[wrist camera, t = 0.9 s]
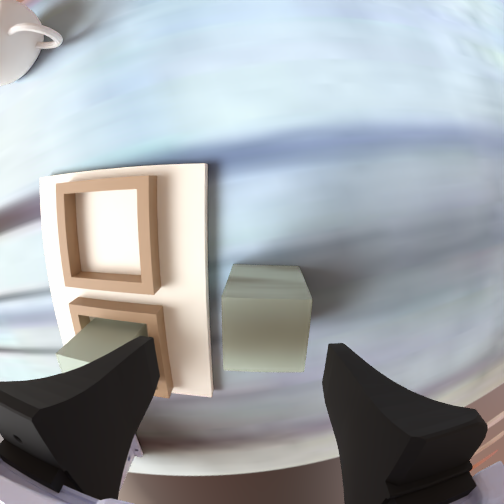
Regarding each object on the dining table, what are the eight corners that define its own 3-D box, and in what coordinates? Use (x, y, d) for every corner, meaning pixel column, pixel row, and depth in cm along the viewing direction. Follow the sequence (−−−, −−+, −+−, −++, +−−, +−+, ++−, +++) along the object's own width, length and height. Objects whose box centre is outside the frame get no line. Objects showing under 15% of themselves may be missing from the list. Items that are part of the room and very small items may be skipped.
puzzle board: (213, 389, 23) (199, 451, 16) (76, 367, 23) (40, 408, 16) (207, 164, 19) (178, 155, 12) (47, 177, 19) (-14, 182, 12)
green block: (294, 324, 21) (303, 372, 15) (233, 322, 21) (223, 370, 15) (298, 265, 20) (312, 299, 14) (233, 264, 20) (221, 297, 14)
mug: (-9, 95, 17) (-60, 87, 9) (18, 26, 15) (-26, 7, 7) (60, 90, 17) (-3, 69, 10) (95, 8, 15) (49, -31, 8)
